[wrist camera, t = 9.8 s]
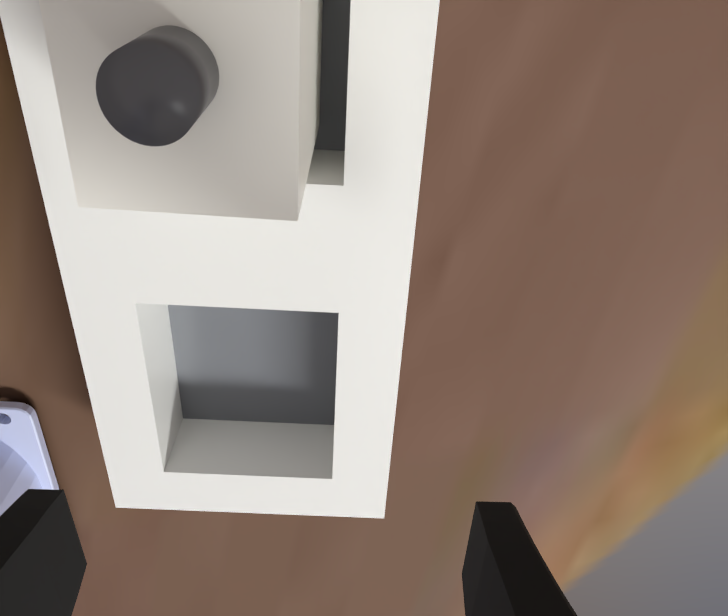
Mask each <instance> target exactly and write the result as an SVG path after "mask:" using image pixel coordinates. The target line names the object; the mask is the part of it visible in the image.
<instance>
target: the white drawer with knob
mask: <svg viewBox="0 0 728 616" xmlns="http://www.w3.org/2000/svg"><path fill="white" fill-rule="evenodd" d="M39 5H40V10H41V15H42V20H43V26H44V31H45V36H46V41H47V47H48V52H49V57H50V62H51V68H52V73H53V78H54V83H55V89H56V94H57V99H58V104H59V110H60V115H61V120H62V125H63V131H64V136H65V141H66V146H67V152H68V157H69V162H70V167H71V172H72V178H73V183H74V188H75V193H76V199H77V204H78V207H83V208H99V209H114V210H130V211H146V212H161V213H177V214H193V215H208V216H224V217H240V218H255V219H271V220H287V221H298V218H299V213H300V209H301V204H302V200H303V195H304V191H305V186H306V182H307V177H308V173H309V168H310V164H311V159H312V155H313V150H314V146H315V141H316V137H317V132H318V128H319V112H320V78H321V43H322V9H323V0H39Z"/></svg>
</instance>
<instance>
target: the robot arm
mask: <svg viewBox="0 0 728 616" xmlns="http://www.w3.org/2000/svg"><path fill="white" fill-rule="evenodd" d="M4 414H6V415H8V416H6V415H4ZM86 565H87V563H86V559H85V556H84V553H83V550H82V547H81V544H80V540H79V537H78V534H77V531H76V528H75V525H74V521H73V518H72V515H71V512H70V509H69V506H68V502H67V499H66V496H65V493H64V490H59V487H58V484H57V480H56V477H55V474H54V470H53V467H52V464H51V460H50V457H49V454H48V450H47V447H46V444H45V440H44V437H43V434H42V430H41V427H40V424H39V420H38V417H37V414H36V412H35V410H34V409H33V408H32V407H31V406H30V405H28V404H26V403H21V402H6V401H0V616H71V615H72V612H73V609H74V605H75V602H76V599H77V596H78V593H79V589H80V586H81V582H82V579H83V575H84V572H85V569H86ZM462 581H463V592H464V604H465V615H466V616H577V615H576V613H575V611H574V610H573V608H572V607H571V605H570V604H569V602H568V600H567V599H566V597H565V596H564V594H563V592H562V591H561V589H560V587H559V586H558V584H557V582H556V581H555V579H554V577H553V576H552V574H551V572H550V570H549V569H548V567H547V565H546V563H545V562H544V560H543V558H542V556H541V555H540V553H539V551H538V549H537V547H536V546H535V544H534V542H533V540H532V538H531V536H530V534H529V533H528V531H527V529H526V527H525V525H524V523H523V521H522V519H521V517H520V515H519V513H518V511H517V509H516V507H515V506H514V505H513V504H512V503H510V502H476V505H475V510H474V515H473V520H472V525H471V530H470V535H469V540H468V545H467V550H466V556H465V561H464V566H463V571H462Z"/></svg>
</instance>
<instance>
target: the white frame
mask: <svg viewBox="0 0 728 616" xmlns="http://www.w3.org/2000/svg"><path fill="white" fill-rule="evenodd" d="M439 1H440V0H323V9H322V43H321V78H320V112H319V128H318V132H317V137H316V141H315V146H314V150H313V155H312V159H311V164H310V168H309V173H308V177H307V182H306V186H305V191H304V195H303V200H302V204H301V209H300V213H299V218H298V221H287V220H271V219H255V218H240V217H224V216H208V215H193V214H177V213H161V212H146V211H130V210H114V209H99V208H83V207H78V204H77V199H76V193H75V188H74V183H73V178H72V172H71V167H70V162H69V157H68V152H67V146H66V141H65V136H64V131H63V125H62V120H61V115H60V110H59V104H58V99H57V94H56V89H55V83H54V78H53V73H52V68H51V62H50V57H49V52H48V47H47V41H46V36H45V31H44V26H43V20H42V15H41V10H40V5H39V0H0V18H1V22H2V26H3V30H4V35H5V39H6V43H7V47H8V51H9V56H10V60H11V64H12V68H13V73H14V77H15V81H16V85H17V90H18V94H19V98H20V102H21V107H22V111H23V115H24V119H25V124H26V128H27V132H28V136H29V141H30V145H31V149H32V153H33V158H34V162H35V166H36V170H37V175H38V179H39V183H40V187H41V192H42V196H43V200H44V204H45V209H46V213H47V217H48V221H49V226H50V230H51V234H52V238H53V243H54V247H55V251H56V255H57V260H58V264H59V268H60V272H61V277H62V281H63V285H64V289H65V294H66V298H67V302H68V306H69V311H70V315H71V319H72V323H73V328H74V332H75V336H76V340H77V345H78V349H79V353H80V357H81V362H82V366H83V370H84V374H85V379H86V383H87V387H88V391H89V396H90V400H91V404H92V408H93V413H94V417H95V421H96V425H97V430H98V434H99V438H100V442H101V447H102V451H103V455H104V459H105V464H106V468H107V472H108V476H109V481H110V485H111V489H112V493H113V498H114V502H115V506H116V507H117V508H141V509H166V510H191V511H216V512H240V513H265V514H290V515H314V516H339V517H364V518H384V514H385V505H386V495H387V486H388V477H389V467H390V458H391V449H392V439H393V430H394V421H395V411H396V402H397V393H398V383H399V374H400V365H401V355H402V346H403V337H404V327H405V318H406V309H407V299H408V290H409V281H410V272H411V262H412V253H413V244H414V234H415V225H416V216H417V206H418V197H419V188H420V178H421V169H422V160H423V150H424V141H425V132H426V122H427V113H428V104H429V94H430V85H431V76H432V66H433V57H434V48H435V38H436V29H437V20H438V10H439Z"/></svg>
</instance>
